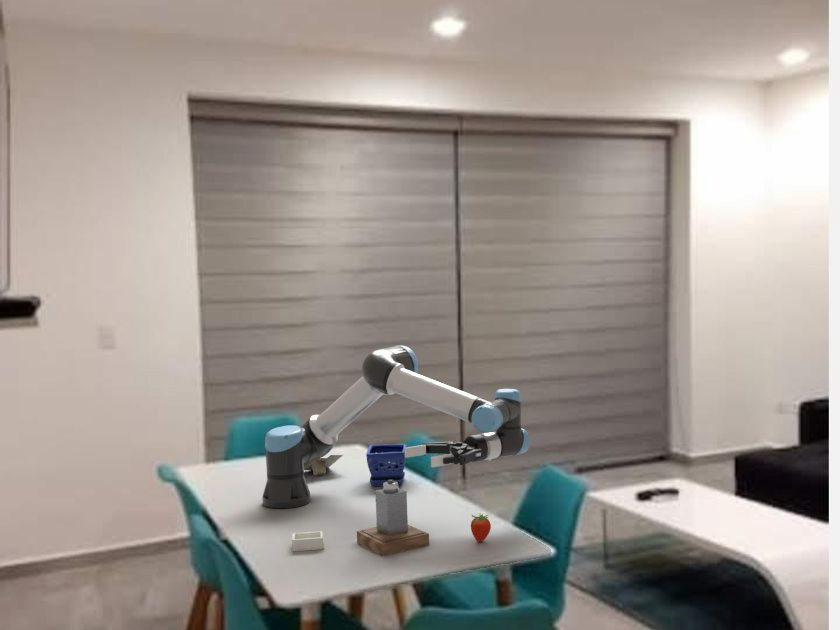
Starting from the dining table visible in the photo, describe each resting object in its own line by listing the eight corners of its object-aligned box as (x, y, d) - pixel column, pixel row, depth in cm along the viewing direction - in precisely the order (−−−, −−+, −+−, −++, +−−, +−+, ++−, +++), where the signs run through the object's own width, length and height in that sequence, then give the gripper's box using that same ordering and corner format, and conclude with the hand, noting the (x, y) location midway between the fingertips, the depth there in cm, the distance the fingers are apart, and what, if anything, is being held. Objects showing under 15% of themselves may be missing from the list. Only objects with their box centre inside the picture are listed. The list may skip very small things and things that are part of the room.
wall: (289, 488, 312) (303, 466, 302) (285, 467, 317) (299, 445, 308) (332, 489, 320) (347, 467, 310) (327, 468, 325) (342, 446, 315)
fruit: (478, 537, 237) (477, 508, 236) (494, 540, 233) (493, 511, 233) (466, 543, 233) (465, 513, 232) (483, 546, 229) (482, 516, 229)
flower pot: (406, 487, 293) (405, 451, 292) (367, 488, 293) (365, 452, 292) (408, 477, 306) (406, 443, 305) (370, 478, 306) (368, 444, 306)
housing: (377, 531, 235) (374, 480, 234) (396, 526, 238) (394, 476, 237) (388, 536, 230) (386, 484, 229) (408, 532, 233) (406, 480, 232)
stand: (357, 542, 236) (356, 530, 236) (401, 532, 244) (401, 520, 244) (383, 556, 225) (382, 543, 224) (429, 544, 232) (428, 532, 232)
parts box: (292, 551, 231) (292, 540, 231) (293, 544, 237) (292, 533, 237) (323, 549, 232) (322, 537, 232) (322, 542, 238) (322, 531, 238)
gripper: (508, 469, 242) (443, 480, 230) (456, 452, 263) (395, 461, 252) (508, 441, 241) (443, 452, 230) (456, 427, 262) (395, 435, 251)
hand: (418, 457), depth 241 cm, fingers open, 13 cm apart
